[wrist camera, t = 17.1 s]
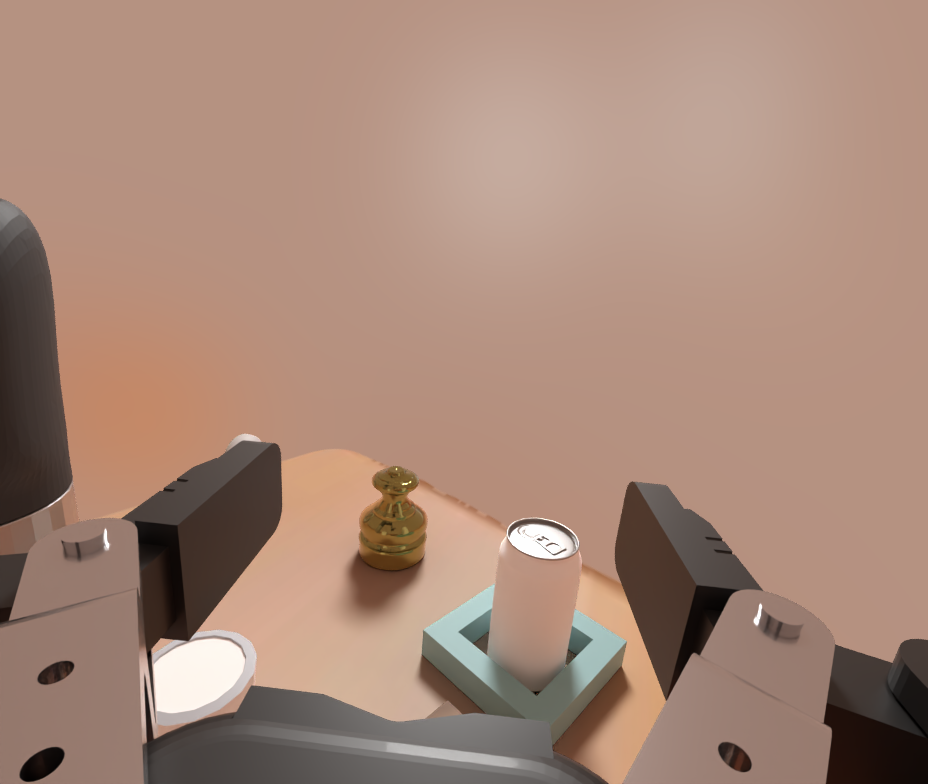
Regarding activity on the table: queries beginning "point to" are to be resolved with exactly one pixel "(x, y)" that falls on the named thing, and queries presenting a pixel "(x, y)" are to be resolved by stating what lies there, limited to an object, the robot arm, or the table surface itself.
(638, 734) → the table surface
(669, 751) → the robot arm
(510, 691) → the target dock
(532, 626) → the can
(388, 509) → the gold tiered piece
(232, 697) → the white cup
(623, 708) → the table surface
